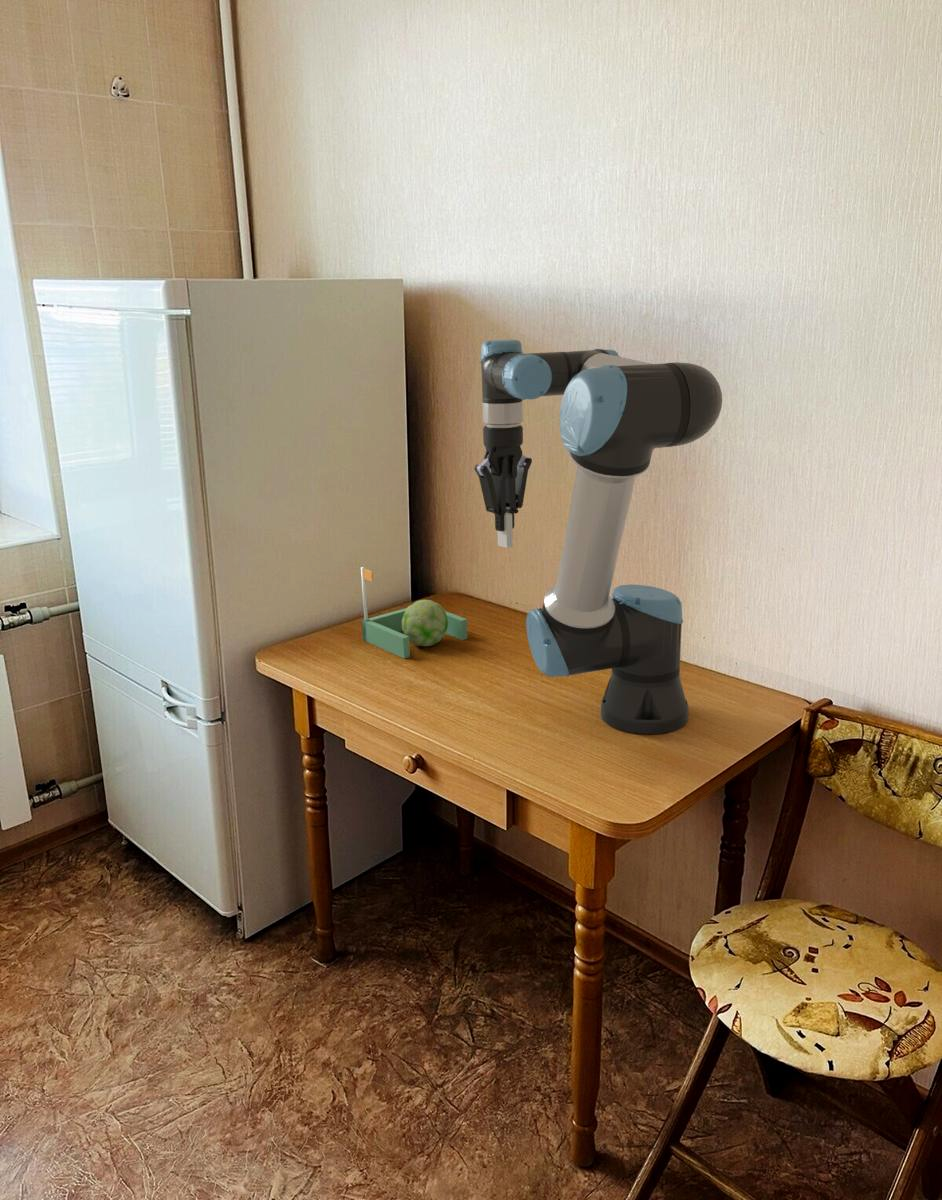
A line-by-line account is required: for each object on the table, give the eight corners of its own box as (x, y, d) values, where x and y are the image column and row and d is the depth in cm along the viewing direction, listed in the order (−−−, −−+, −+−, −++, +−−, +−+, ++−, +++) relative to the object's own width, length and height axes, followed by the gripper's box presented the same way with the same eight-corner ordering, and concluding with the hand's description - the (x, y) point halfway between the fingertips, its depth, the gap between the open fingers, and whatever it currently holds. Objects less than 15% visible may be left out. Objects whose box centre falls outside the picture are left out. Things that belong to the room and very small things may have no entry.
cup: (467, 638, 208) (465, 565, 202) (404, 658, 197) (400, 582, 192) (424, 621, 219) (421, 552, 214) (362, 639, 209) (357, 567, 204)
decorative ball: (453, 650, 201) (451, 605, 198) (407, 655, 199) (404, 610, 196) (443, 634, 210) (441, 591, 207) (399, 639, 208) (396, 596, 205)
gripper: (515, 419, 186) (516, 536, 193) (463, 426, 178) (467, 548, 186) (541, 422, 181) (542, 543, 188) (489, 430, 173) (492, 555, 180)
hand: (505, 545), depth 187 cm, fingers closed
